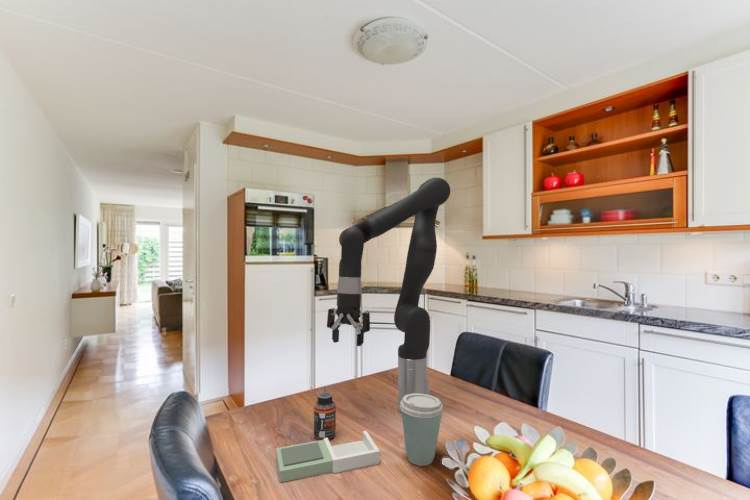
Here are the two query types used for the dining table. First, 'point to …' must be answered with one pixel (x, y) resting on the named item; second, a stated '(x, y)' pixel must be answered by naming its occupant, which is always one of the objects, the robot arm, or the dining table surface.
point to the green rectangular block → (303, 460)
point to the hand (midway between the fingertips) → (347, 343)
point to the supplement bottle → (324, 417)
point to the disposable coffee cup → (421, 426)
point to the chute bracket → (353, 454)
